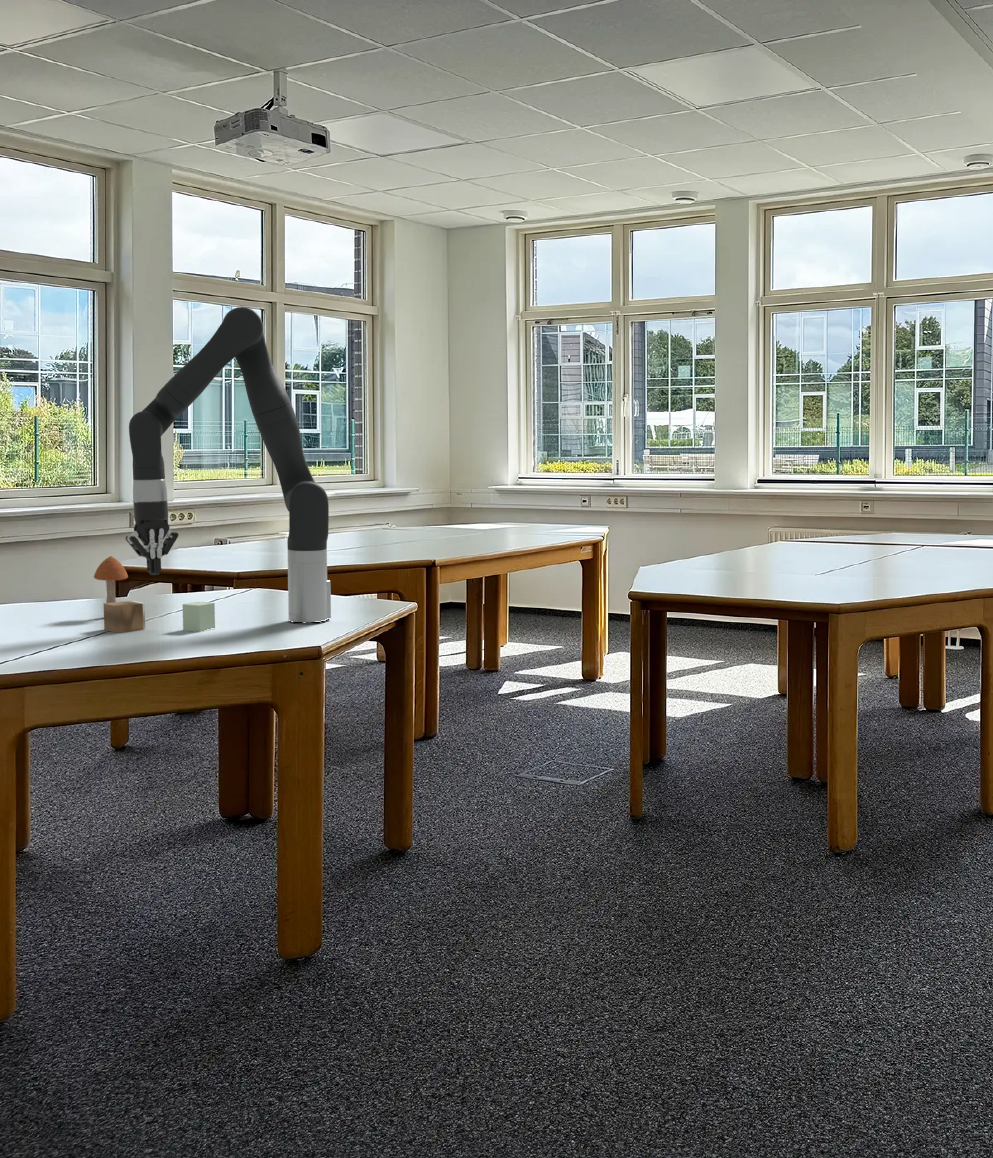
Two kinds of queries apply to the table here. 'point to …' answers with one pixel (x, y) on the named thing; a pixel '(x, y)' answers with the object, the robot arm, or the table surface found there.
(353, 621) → the table surface
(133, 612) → the walnut block
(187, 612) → the sage block
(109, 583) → the mushroom
